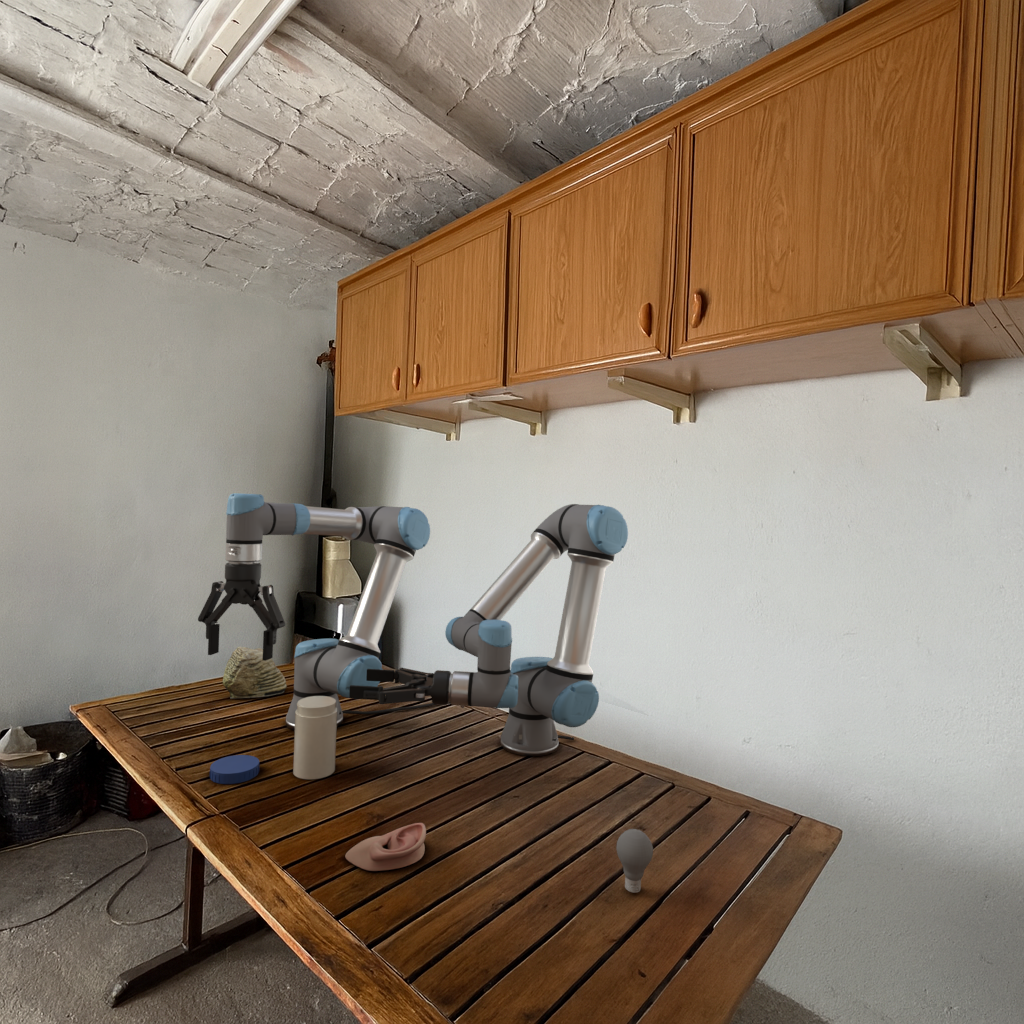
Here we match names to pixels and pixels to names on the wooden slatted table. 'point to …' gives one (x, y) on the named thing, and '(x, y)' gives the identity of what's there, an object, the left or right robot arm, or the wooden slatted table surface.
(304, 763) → the jar
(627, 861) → the light bulb
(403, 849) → the anatomical model
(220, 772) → the lid
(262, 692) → the fossil
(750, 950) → the wooden slatted table surface
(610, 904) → the wooden slatted table surface
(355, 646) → the left robot arm
